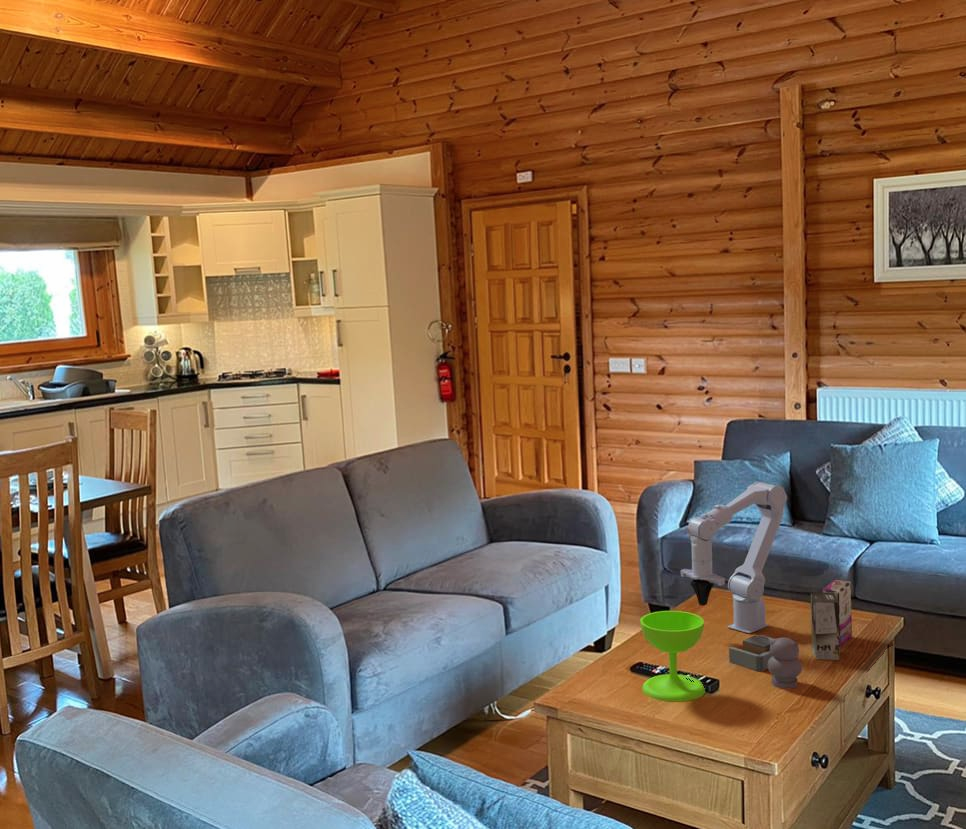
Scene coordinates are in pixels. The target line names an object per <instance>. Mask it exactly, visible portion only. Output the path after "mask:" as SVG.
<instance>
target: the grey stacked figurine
mask: <svg viewBox="0 0 966 829" xmlns="http://www.w3.org/2000/svg"><path fill="white" fill-rule="evenodd" d="M772 638H773V637H771V638H768V639H769V642H770V645H771V646H770V652H771V654H772V657H771V658H770V659H769V661H768V669H767V670H768V671H769V673H770V674H771V675H772V677H771V685H772V686H773V687H776V688H778V689H783V690H784V689H785V690H788V689H794V688H797V687H798V678H797V677H798V676H800V675H801V673H802V671H803V663H802V662H801V660H800V659H799V658H798V657H799V653H800V647H799V642H797V641H794V639H791V638H789V637H779V638H778V637H777V638H775V639H772Z"/></svg>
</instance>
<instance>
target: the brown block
mask: <svg viewBox="0 0 966 829" xmlns="http://www.w3.org/2000/svg"><path fill="white" fill-rule="evenodd" d="M758 636H759V635H752V636H750V637H748V638H746V639H743V640H742V650H744V651H748V652H751V653H754V654H758V655H760V654H762V653H765V652H767V651H769V650H770V646H771V645H770V642H769V639H765V638H762V637H758Z"/></svg>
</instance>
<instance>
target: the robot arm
mask: <svg viewBox="0 0 966 829" xmlns="http://www.w3.org/2000/svg"><path fill="white" fill-rule="evenodd" d="M787 500H788V496H787V494H786V491H785V489H784V487H782V486H780V485H774V484H771V483H765V482H762V481H754V482H753V483H752V484H750V485H748V486H747V487H746V490H744V491H743V492H742V493H741V494H739V495H738V496H736V497H735V498H734V499H733V500H731V501H730V502H728V503H726V505H724V504H716V505H714V506H713V507H714V508H713V509H711V510H709V511H707V512H706V513H703V514H702V515H701V516H700V517H699V516H698V517H694V518H692V519H691V520H690V521H689V523H688V525H687V527H686V532H687V534H688V536H689V537H690V538H689V539H690V542H691V569H688V568H683V569H681V570H680V577H682V578H685V577H686V578H690V579H692V580H691V581H690V586H691V588H692V589H693V590H694V593H695V595H696V598H697V602H698V606H702V607H703V606H707V605H708V602H709V597H710V594H711V590H712V589H713V587H714V585H718V586H725V585H726V578H725V577H723V576H720V575H718V574H716V573H713V551H712V550H713V548H712V540H713V538H714V537H715V536H716V533H717V532H718V531H719V530H720V529H721V528H723V527H725V526H727V525H728V524H730V523H731V522H732V520H733V516H735V515H736V514H737V513H740V512H741V511H743V510H745V509H747V508H749V507H750V506H753V505H755V506H756V507H757V509H758V510H759V511H760V514H761V515H762V516H761V519H760V522H759V524H758V527H757V529H756V532H755V535H754V537H753V539H752V541H751V544H750V547H749V549H748V553H747V555H746V557H745V560H744V562H743V564H742V565H740V566H738V567H737V568H735V570H734V573H733V574H732V575H731V576H730V577H729V579H728V582H727V589H728V591H729V592H730V593H731V595H732V598H733V623H732V624H730V625H727V628H728V629H731V630H735V631H738V632H739V631H740V632H742V633H747V634H752V633H754V632H756V631H760V630H762V629H765V628H766V627H768V626H769V624H768V623H766V618H767V617H766V603H765V601H764V599H763V598H762V597H763V595H764V593H765V592H764V590H765V587H764V586H765V584H766V578H765V576H764V574H763V569H764V566H765V564H766V561H767V559H768V556H769V555H770V554H769V553H770V552H771V548H772V545H773V544H774V541H775V537H776V536H777V533H778V531H779V529H780V525H781V523H782V520H783V517H784V509H785V505H786V503H787Z"/></svg>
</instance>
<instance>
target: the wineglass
mask: <svg viewBox="0 0 966 829" xmlns="http://www.w3.org/2000/svg"><path fill="white" fill-rule="evenodd" d="M639 619H640V620H639V622H640V628H641V632H642V633H643V636H644V638H645V639H646V641H647V642H649V644H650V645H651V647H654V648H655V649H656V650H658V651H660V652H664V653H667V654H668V664H669V665H668V666H669V667H668V668H669V673H666V674H658V675H655V676H653V677H650V678H648V679H646V681H645V682H644V683H643V684H642V687H641V688H642V689H641V690H642V692H643V693H644V694H645V695H646V696H648V697H650V698H652V699H655V700H657V701H662V702H663V701H664V702H673V703H674V702H677V703H678V702H679V703H681V702H682V703H683V702H688V701H693V700H696V699H699V698H701V697H703V696H704V695H705V694H706V691H705V689H706V687H705V688H704V686H705V685H704V686H703V684H704V683H703V682H702V681H700V680H699V679H697V678H696V677H693V676H689V675H685V674H680V673H679V674H678V662H677V661H678V660H677V659H678V656H677V655H678V653H682V652H683V653H684V652H687V651H688V650H689V649H691V648H693V647H694V646H695V645H696V644H697V642H699V640H700V638H701V636H702V634H703V631H704V627H705V626H704V625H705V620H704V619H703V618H702V617H701V616H700V615H698V614H695V613H691V612H688V611H680V610H661V611H654V612H651V613H647V614H644V615H643V616H642V617H641V618H639ZM686 678H687V679H688V678H689V679H690V680H691V681H692V680H693V681H694V682H693V681H692V682H691V681H690V680H689V679H688V680H687V679H686ZM702 683H703V684H702Z"/></svg>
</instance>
